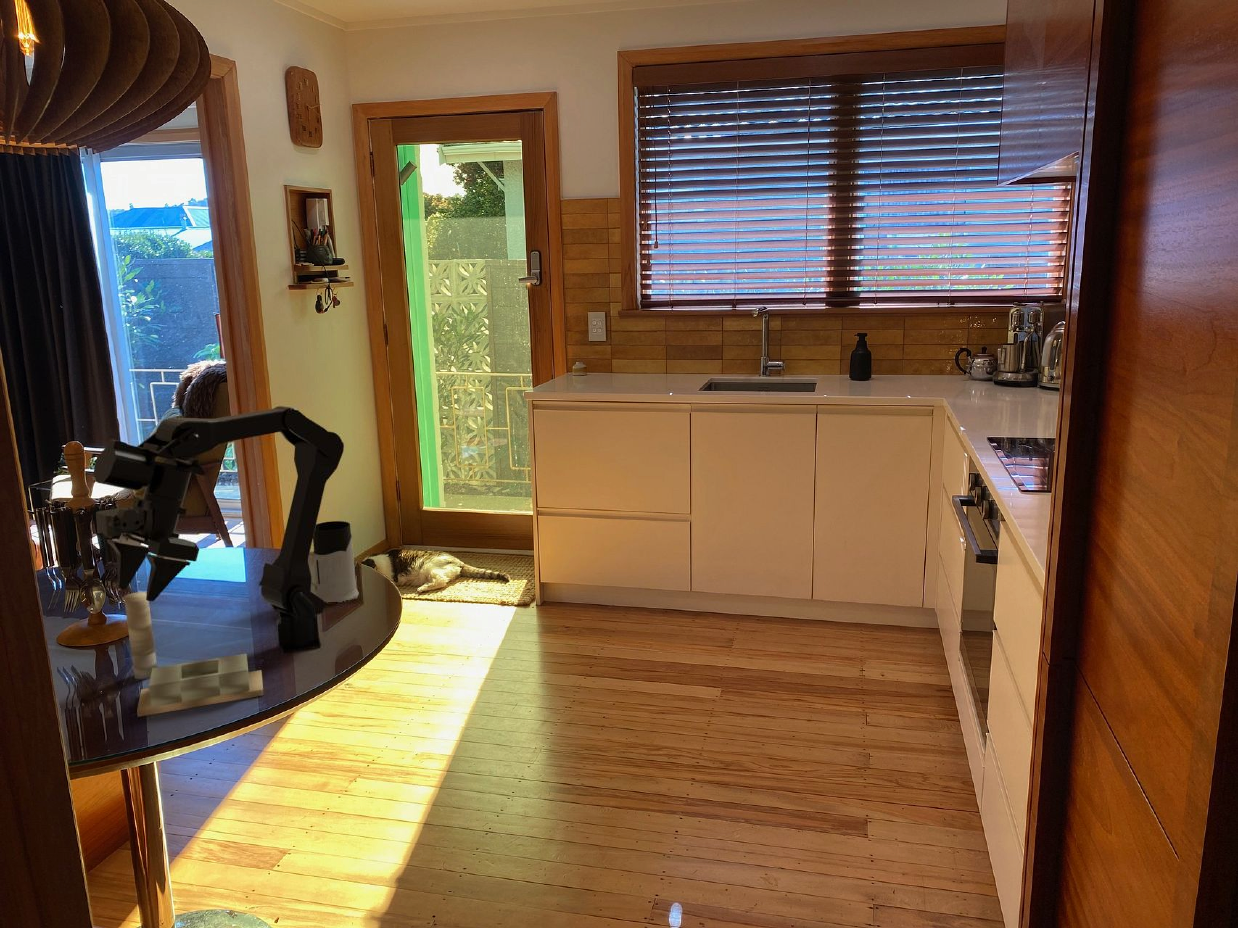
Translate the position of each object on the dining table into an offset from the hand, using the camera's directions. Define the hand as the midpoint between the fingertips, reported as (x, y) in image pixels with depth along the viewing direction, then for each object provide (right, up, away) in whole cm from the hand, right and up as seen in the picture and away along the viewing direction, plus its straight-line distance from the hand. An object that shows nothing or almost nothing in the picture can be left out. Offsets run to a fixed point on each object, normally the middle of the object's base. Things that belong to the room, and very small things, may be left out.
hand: (135, 594), depth 146 cm
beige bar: (-5, -15, +13) cm, 20 cm away
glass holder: (+14, -8, +49) cm, 51 cm away
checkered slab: (+8, -17, +5) cm, 19 cm away
